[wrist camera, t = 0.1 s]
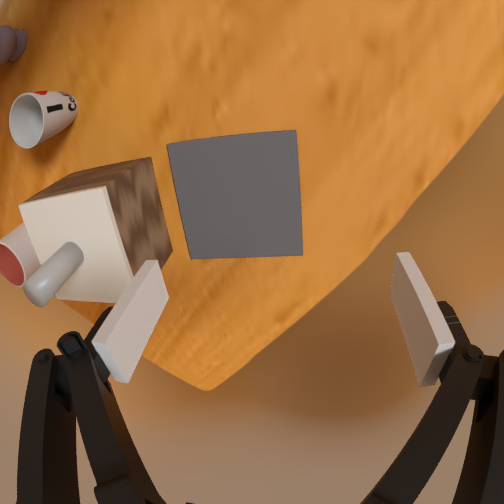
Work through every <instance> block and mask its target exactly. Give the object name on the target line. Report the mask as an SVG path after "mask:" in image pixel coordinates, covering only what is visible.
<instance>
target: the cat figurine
mask: <svg viewBox="0 0 504 504" xmlns="http://www.w3.org/2000/svg"><path fill="white" fill-rule="evenodd" d="M26 42H27V36H26V33H25V31H24V30H23V29H13V28H12V27H11V26H8V25H3V26H0V66H2V65H3V64H4V63H5V62H6V61H14V60H17V59H18V58H19V57H20V56H21V55H22V53H23V51H24V49H25V46H26Z"/></svg>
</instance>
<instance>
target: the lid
mask: <svg viewBox="0 0 504 504" xmlns="http://www.w3.org/2000/svg"><path fill="white" fill-rule="evenodd" d="M18 206H19V209H20V212H21V215H22V218H23V221H24V224H25V227H26V229H27V232H28V235H29V237H30V240H31V242H32V245H33V247H34V250H35V252H36V255H37V257H38V259H39V262H40V264H41V266H40V267H39V268H38V269H37V270H36V271H35V272H34V273H33V274H32V275H31V276H30V277H29V278H28V279H27V280H26V281H25V282H24V284H23V289H24V292H25V294H26V296H27V297H28V299H30V301H31V302H32V303H33V304H35V305H36V306H38V307H44V306H45V305H46V304H47V303H48V301H49V300H50V299H51V298H52V297H53V296H54V294H55V296H56V298H57V299H58V300H72V301H87V302H104V303H117V301H118V300H119V298H120V297H121V295H122V294H123V292H124V291H125V289H126V288H127V286H128V285H129V284H130V282H131V281H132V279H133V278H134V276H133V273H132V270H131V267H130V265H129V262H128V259H127V256H126V253H125V250H124V247H123V243H122V240H121V237H120V234H119V231H118V227H117V224H116V221H115V217H114V214H113V210H112V207H111V203H110V200H109V196H108V192H107V189H106V186H101V187H96V188H90V189H85V190H80V191H75V192H70V193H65V194H60V195H55V196H51V197H46V198H42V199H37V200H33V201H29V202H25V203H21V204H20V205H18Z"/></svg>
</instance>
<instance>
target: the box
mask: <svg viewBox="0 0 504 504" xmlns="http://www.w3.org/2000/svg"><path fill="white" fill-rule="evenodd" d="M101 186H106V189H107V192H108V196H109V200H110V203H111V207H112V210H113V214H114V217H115V221H116V224H117V227H118V231H119V234H120V237H121V240H122V243H123V247H124V250H125V253H126V256H127V259H128V262H129V265H130V267H131V270H132V273H133V276H135V275H136V273H137V272H138V271H139V269H140V268H141V266H142V265H143V264H144V262H145V261H146V260H158V263H159V266H160V270H161V269H162V267H163V266H164V264H165V263H166V261H167V259H168V258H169V256H170V255H171V253H172V252H173V250H172V246H171V242H170V238H169V234H168V230H167V226H166V222H165V218H164V214H163V209H162V205H161V201H160V196H159V192H158V187H157V183H156V178H155V173H154V169H153V164H152V159H151V157H147V158H141V159H136V160H130V161H125V162H120V163H115V164H110V165H105V166H101V167H96V168H92V169H87V170H83V171H79V172H74V173H71V174H69V175H68V176H66V177H64V178H62V179H60V180H59V181H57V182H55V183H54V184H52V185H50V186H49V187H47V188H45V189H44V190H42V191H40V192H39V193H37V194H35V195H34V196H32V197H31V198H29V199H27V200H26V201H24V202H23V203H25V202H29V201H33V200H37V199H42V198H46V197H51V196H55V195H60V194H65V193H70V192H75V191H80V190H85V189H90V188H96V187H101Z"/></svg>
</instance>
